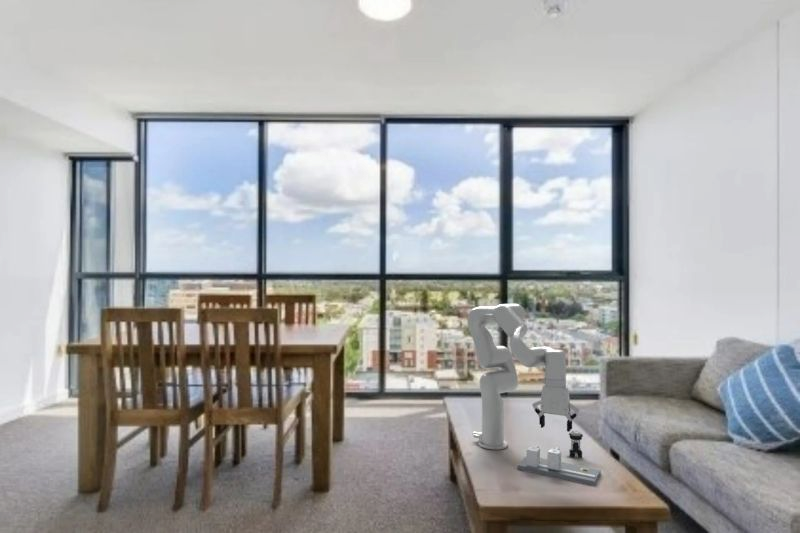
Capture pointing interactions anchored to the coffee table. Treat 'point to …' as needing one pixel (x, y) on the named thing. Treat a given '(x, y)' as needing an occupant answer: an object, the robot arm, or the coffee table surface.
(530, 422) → the coffee table surface
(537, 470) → the plate
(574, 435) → the push button
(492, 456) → the coffee table surface
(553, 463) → the sliding block
